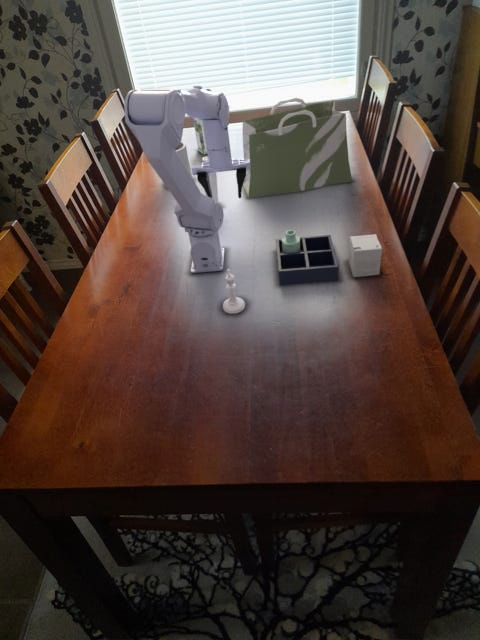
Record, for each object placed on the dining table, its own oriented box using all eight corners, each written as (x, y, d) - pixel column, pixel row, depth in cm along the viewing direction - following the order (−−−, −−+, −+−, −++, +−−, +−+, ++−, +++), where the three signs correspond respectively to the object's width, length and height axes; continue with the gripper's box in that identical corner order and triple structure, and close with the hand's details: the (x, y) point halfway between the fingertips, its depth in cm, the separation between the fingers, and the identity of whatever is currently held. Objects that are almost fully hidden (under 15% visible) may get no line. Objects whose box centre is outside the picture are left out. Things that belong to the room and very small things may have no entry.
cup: (184, 174, 155) (177, 138, 147) (197, 182, 148) (190, 146, 140) (160, 182, 151) (152, 147, 143) (172, 191, 145) (164, 155, 137)
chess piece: (244, 298, 102) (239, 261, 95) (245, 312, 98) (240, 275, 92) (222, 300, 102) (216, 264, 96) (223, 314, 99) (216, 278, 92)
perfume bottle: (219, 211, 133) (212, 161, 123) (205, 211, 134) (196, 162, 124) (223, 203, 136) (216, 154, 126) (209, 203, 137) (201, 155, 127)
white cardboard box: (373, 260, 107) (376, 233, 102) (379, 275, 103) (382, 248, 98) (347, 262, 108) (349, 235, 103) (352, 277, 103) (354, 250, 98)
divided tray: (337, 280, 103) (338, 266, 100) (279, 285, 104) (278, 271, 102) (330, 248, 113) (330, 234, 110) (276, 252, 114) (275, 239, 111)
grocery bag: (248, 200, 136) (240, 120, 120) (242, 180, 146) (233, 104, 131) (352, 182, 137) (358, 101, 122) (338, 164, 147) (341, 87, 132)
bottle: (300, 261, 109) (300, 236, 104) (283, 262, 109) (282, 238, 105) (299, 251, 112) (298, 227, 107) (282, 253, 112) (281, 228, 108)
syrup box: (197, 150, 169) (190, 109, 159) (212, 145, 171) (206, 105, 161) (203, 155, 165) (196, 113, 155) (218, 150, 166) (212, 109, 157)
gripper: (248, 136, 112) (252, 187, 121) (190, 142, 113) (199, 193, 122) (247, 148, 107) (253, 200, 116) (187, 154, 108) (197, 205, 117)
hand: (225, 197), depth 119 cm, fingers open, 7 cm apart
